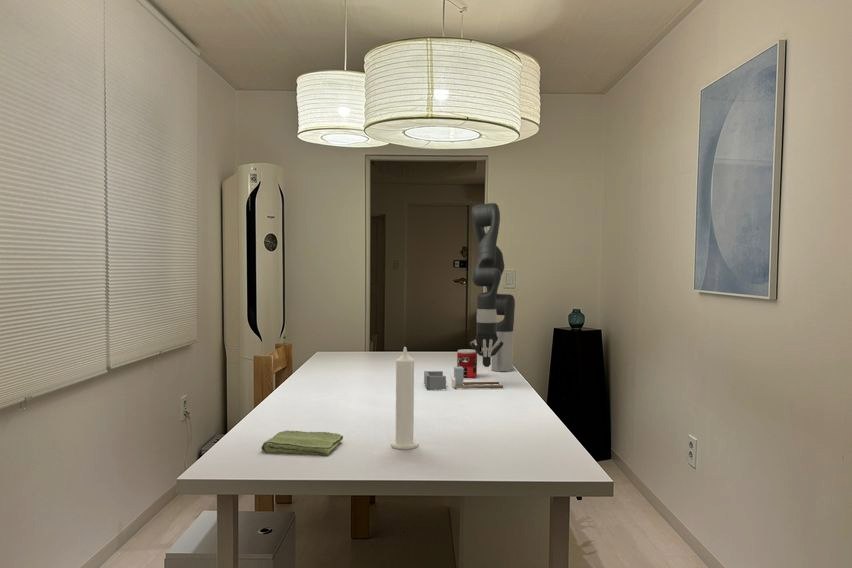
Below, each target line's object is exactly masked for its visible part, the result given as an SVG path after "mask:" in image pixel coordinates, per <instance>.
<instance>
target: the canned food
mask: <svg viewBox="0 0 852 568" xmlns="http://www.w3.org/2000/svg"><path fill="white" fill-rule="evenodd" d="M456 352H457V353H456V354H457V355H456V356H457V357H456V360H457V361H456V362H457V363H456V367H463V378H474V379H476V378H477V375H478V373H477V371H478V368H477V367H478V354H477V352H476V351H475V350H474V349H468V348H467V349H465V348H464V349H458V350H457V351H456ZM475 377H476V378H475Z"/></svg>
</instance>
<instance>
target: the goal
mask: <svg viewBox="0 0 852 568" xmlns="http://www.w3.org/2000/svg"><path fill="white" fill-rule="evenodd" d="M423 375H424V376H423V385H424V384H425V385H424V388H425V389H427V390H426V391H439V390H438V389H446V390H447V376H446V375H444V372H443V370H425V371H424V372H423ZM435 389H437V390H435Z"/></svg>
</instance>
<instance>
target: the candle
mask: <svg viewBox="0 0 852 568" xmlns="http://www.w3.org/2000/svg"><path fill="white" fill-rule="evenodd" d="M414 390H415V359H414V358H412V356H410V355H409V353H408V349H407V347H406V346H404V347H403V350H402V354H401V355H400V356H399V357H398V358H397V359H396V360H395V439H393V440H391V441H390V447H391V448H392V449H396V450H403V451H406V450H414V449H417V448H418V447H419V441H417V440H416V439H414V429H415V428H414V426H415V425H414V419H415V418H414V417H415V416H414V412H415V411H414V410H415V409H414V408H415V406H414V404H415V399H414V397H415V391H414Z"/></svg>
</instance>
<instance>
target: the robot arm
mask: <svg viewBox="0 0 852 568" xmlns="http://www.w3.org/2000/svg"><path fill="white" fill-rule="evenodd" d="M471 221H472V223H473V227H474V231H475V234H476V239H477V242H478V247H477V262H476V266H475V268H474V270H473V273H472V277H471V278H472V282H473V284H474V285H475V286H476V287H485V288H486V291H485V292H481V293H479V294H478V295H477V298H476V299H477V302H476V306H477V308H476V309H477V311H476V336H475V337H474V340H472V341H470V342H469V345H470V346H471V347H472V349H473V350H475V351H476V352H477V356H478V355H479V356H480V357H482V366H483V367H485V368H490V366H491V370H492V371H494V372H500V371H507V372H512V371H513V370H514V369H513V368H514V367H513V366H514V365H513V364H514V326H515V324H514V323H515V309H516V305H515V304H516V300H515V297H514V295H512V294H510V293H509V294H508V293H498V290H499V286H500V283H501V279H502V276H503V274H504V273H503V272H504V271H505V262H504V260H505V259H504V255H503V252H502V250H501V249H500V248H499V247H498V246H497V240H498V235H499V231H500V223H501V212H500V208H499V205H498V203H496V202H491V203H490V202H489V203H484V204H476V205H473V206H472V207H471ZM486 227H489V228H488V231H486V230H485V229H484V228H486ZM497 316H503V319H502V320H499V321H498V317H497ZM478 346H479V347H481V350H480V349H479V348H478Z"/></svg>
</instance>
